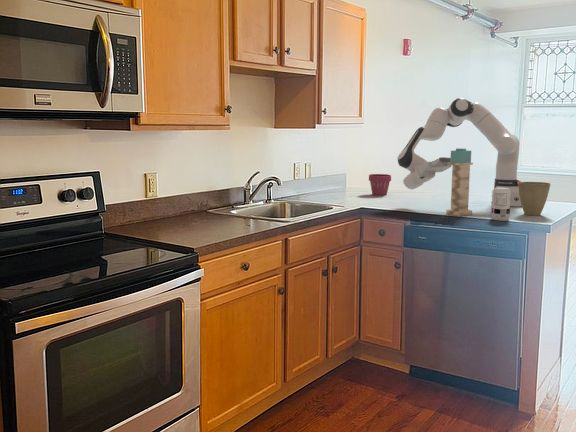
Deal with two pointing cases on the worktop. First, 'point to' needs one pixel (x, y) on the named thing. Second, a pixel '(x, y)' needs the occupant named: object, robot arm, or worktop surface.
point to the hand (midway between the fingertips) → (445, 159)
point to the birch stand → (460, 189)
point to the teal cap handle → (458, 156)
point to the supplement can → (501, 203)
